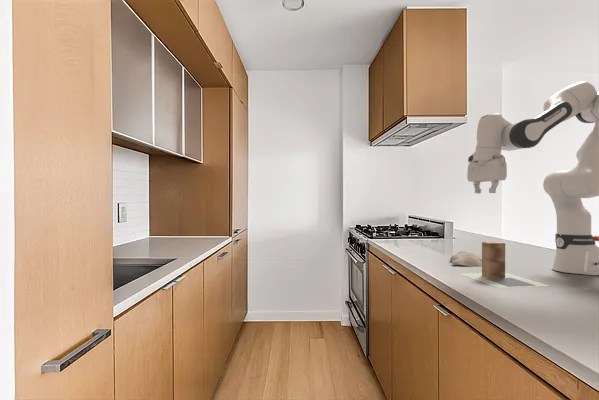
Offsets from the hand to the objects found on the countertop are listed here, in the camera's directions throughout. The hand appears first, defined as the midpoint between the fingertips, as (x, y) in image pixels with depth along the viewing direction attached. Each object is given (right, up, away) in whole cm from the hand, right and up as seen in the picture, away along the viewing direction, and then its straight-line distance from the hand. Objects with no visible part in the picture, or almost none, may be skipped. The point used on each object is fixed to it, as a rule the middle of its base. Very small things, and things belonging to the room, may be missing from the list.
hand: (484, 193), depth 156 cm
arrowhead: (+4, -30, +27) cm, 41 cm away
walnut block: (-1, -30, -10) cm, 31 cm away
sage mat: (-1, -30, -14) cm, 33 cm away
